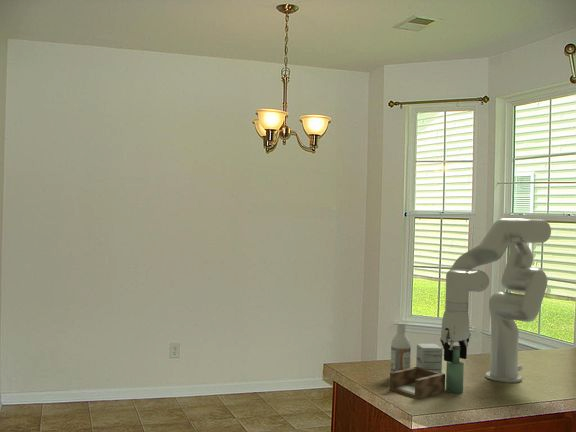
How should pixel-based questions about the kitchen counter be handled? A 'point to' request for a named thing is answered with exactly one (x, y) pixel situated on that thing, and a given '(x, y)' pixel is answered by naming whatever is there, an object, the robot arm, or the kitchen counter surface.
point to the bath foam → (400, 349)
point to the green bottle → (455, 372)
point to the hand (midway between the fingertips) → (455, 359)
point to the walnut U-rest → (417, 382)
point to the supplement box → (429, 357)
